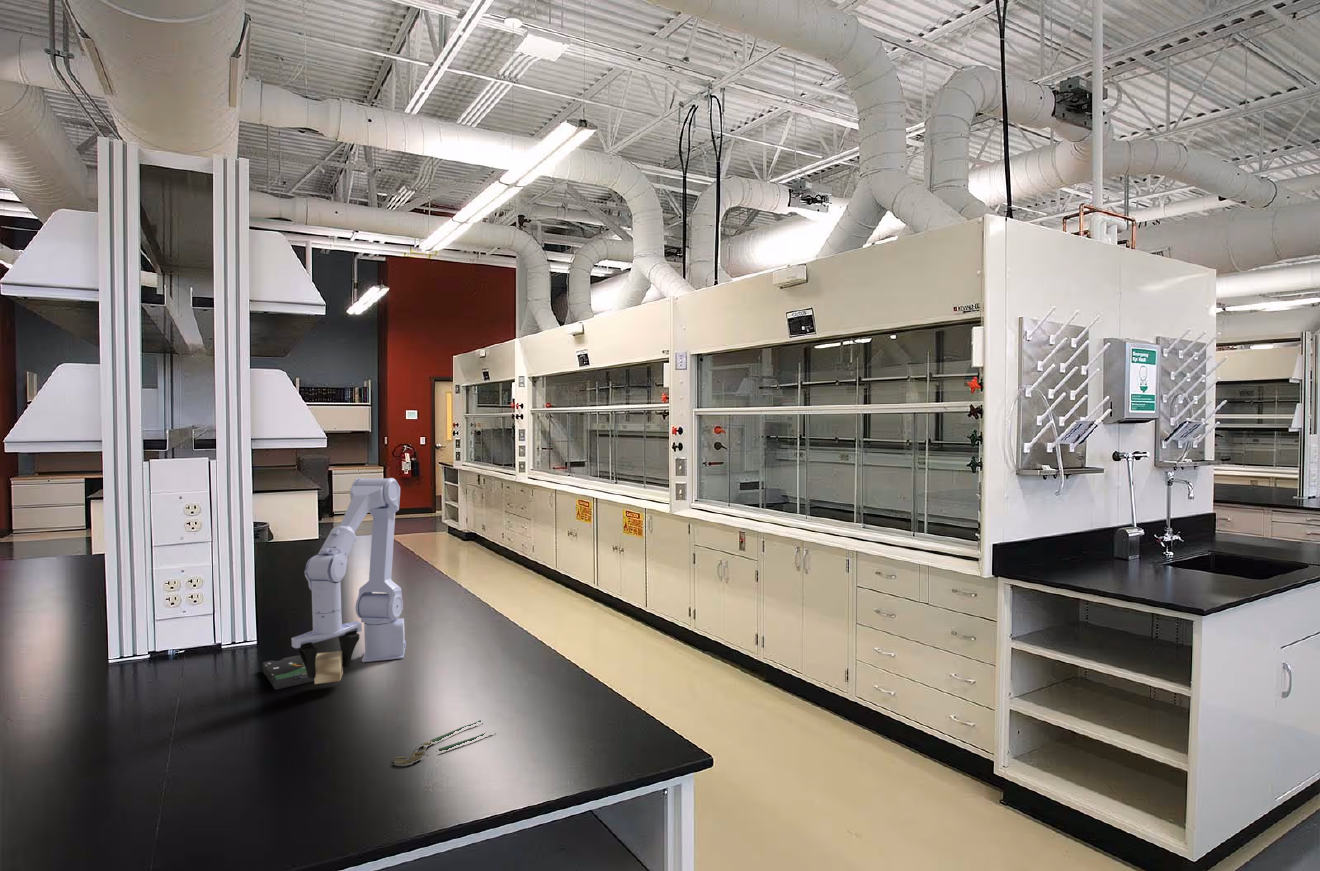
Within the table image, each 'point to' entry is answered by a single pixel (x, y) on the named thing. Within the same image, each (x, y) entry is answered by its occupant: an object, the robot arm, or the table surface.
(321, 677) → the maple cube
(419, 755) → the pliers
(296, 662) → the disk drive
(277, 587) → the table surface
